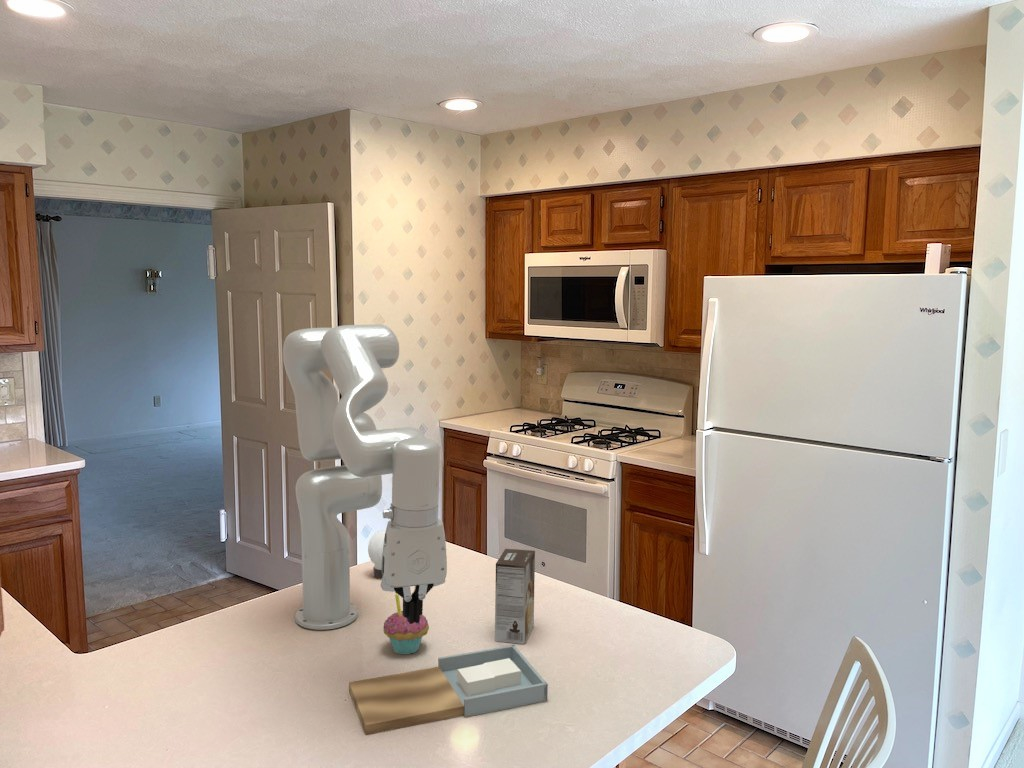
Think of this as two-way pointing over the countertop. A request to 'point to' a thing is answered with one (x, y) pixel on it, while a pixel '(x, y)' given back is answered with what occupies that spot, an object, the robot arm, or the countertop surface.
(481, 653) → the tray
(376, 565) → the light bulb
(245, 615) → the countertop surface
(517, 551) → the coffee box
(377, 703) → the board
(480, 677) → the tile
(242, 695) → the countertop surface
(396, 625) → the cupcake
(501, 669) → the tile
